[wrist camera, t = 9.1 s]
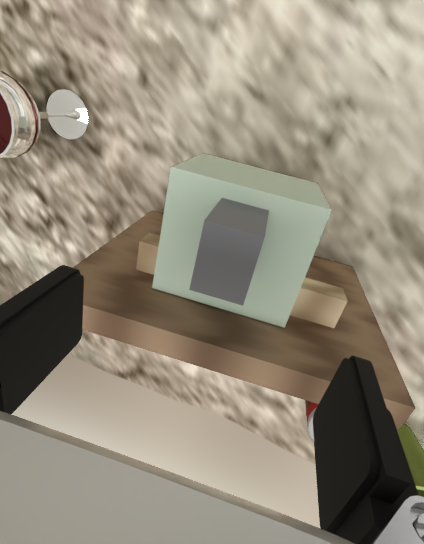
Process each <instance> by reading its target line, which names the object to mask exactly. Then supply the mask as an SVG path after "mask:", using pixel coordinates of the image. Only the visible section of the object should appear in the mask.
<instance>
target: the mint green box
mask: <svg viewBox="0 0 424 544" xmlns="http://www.w3.org/2000/svg"><path fill="white" fill-rule="evenodd" d="M331 211H332V209H331V207H330V205H329V204H328V202H327V200H326V198H325V196H324V194H323V192H322V190H321V188H320V187H319V185H318V183H315V182H311V181H307V180H303V179H300V178H296V177H292V176H288V175H284V174H281V173H277V172H273V171H269V170H265V169H262V168H258V167H254V166H250V165H246V164H242V163H239V162H235V161H231V160H227V159H223V158H220V157H216V156H212V155H208V154H204V153H203V154H200V155H198V156H195V157H193V158H191V159H188V160H186V161H184V162H181V163H179V164H177V165H174V166H172V167H171V169H170V176H169V182H168V189H167V195H166V201H165V208H164V214H163V221H162V227H161V234H160V240H159V247H158V253H157V259H156V266H155V272H154V279H153V285H152V288H154V289H157V290H160V291H164V292H167V293H170V294H174V295H177V296H180V297H184V298H187V299H190V300H194V301H197V302H200V303H204V304H207V305H210V306H214V307H217V308H220V309H224V310H227V311H230V312H234V313H237V314H240V315H244V316H247V317H250V318H254V319H257V320H260V321H264V322H267V323H270V324H274V325H277V326H280V327H284V328H285V326H286V323H287V321H288V318H289V316H290V313H291V311H292V308H293V306H294V303H295V301H296V298H297V296H298V293H299V291H300V288H301V286H302V283H303V281H304V278H305V276H306V273H307V271H308V268H309V266H310V263H311V261H312V258H313V256H314V253H315V251H316V248H317V246H318V244H319V241H320V239H321V236H322V234H323V231H324V229H325V226H326V224H327V221H328V219H329V216H330V214H331Z"/></svg>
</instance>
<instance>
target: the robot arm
mask: <svg viewBox="0 0 424 544" xmlns="http://www.w3.org/2000/svg"><path fill="white" fill-rule="evenodd" d="M83 292H84V277H83V275H81V274H80V271H79V270H78V269H75V268H71V267H68V266H65V265H62V266H60V267H58V268H57V269H55V270H54V271H52V272H51V273H49V274H48V275H46V276H44V277H43V278H41V279H40V280H38V281H37V282H35V283H34V284H32V285H31V286H29V287H28V288H26V289H25V290H23V291H22V292H20V293H19V294H17V295H15V296H14V297H12V298H11V299H9V300H8V301H6V302H5V303H3V304H2V305H0V544H424V497H422V496H419V494H418V491H417V488H416V485H415V482H414V479H413V476H412V473H411V470H410V467H409V464H408V461H407V458H406V455H405V452H404V449H403V446H402V444H401V441H400V438H399V435H398V432H397V429H396V426H395V423H394V420H393V417H392V414H391V412H390V411H389V410H388V409H387V408H386V405H385V401H384V398H383V395H382V392H381V389H380V386H379V383H378V380H377V377H376V374H375V371H374V368H373V365H372V362H371V361H369V360H366V359H363V358H360V357H357V356H351V357H350V358H349V359H348V358H344V359H343V360H342V362H341V364H340V366H339V368H338V369H337V371H336V373H335V375H334V377H333V379H332V380H331V382H330V384H329V386H328V388H327V390H326V391H325V393H324V395H323V397H322V399H321V401H320V402H319V404H318V406H317V408H316V410H315V412H314V416H313V432H314V446H315V461H316V474H317V488H318V503H319V517H320V527H321V529H320V528H317V527H314V526H312V525H309V524H307V523H304V522H302V521H299V520H297V519H294V518H292V517H289V516H286V515H284V514H281V513H279V512H276V511H274V510H271V509H268V508H266V507H263V506H260V505H258V504H255V503H252V502H250V501H247V500H244V499H241V498H239V497H236V496H233V495H231V494H228V493H225V492H223V491H220V490H217V489H214V488H212V487H209V486H206V485H204V484H201V483H198V482H196V481H193V480H190V479H188V478H185V477H182V476H179V475H177V474H174V473H171V472H169V471H166V470H163V469H160V468H158V467H155V466H152V465H150V464H147V463H144V462H141V461H139V460H136V459H133V458H130V457H128V456H125V455H122V454H119V453H116V452H114V451H111V450H108V449H106V448H103V447H100V446H97V445H95V444H92V443H89V442H86V441H83V440H81V439H78V438H75V437H72V436H70V435H67V434H64V433H61V432H58V431H56V430H53V429H50V428H47V427H45V426H42V425H39V424H36V423H33V422H31V421H28V420H25V419H22V418H19V417H17V416H14V415H11V414H12V413H13V412H14V411H15V410H16V409H17V408H18V407H19V406H20V405H21V403H22V402H23V401H24V400H25V399H26V398H27V397H28V396H29V395H30V394H31V393H32V392H33V391H34V390H35V389H36V387H37V386H38V385H39V384H40V383H41V382H42V381H43V380H44V379H45V378H46V376H48V374H50V372H51V371H52V370H53V369H54V368H55V367H56V366H57V365H58V364H59V363H60V362H61V361H62V360H63V359H64V357H65V356H66V355H67V354H68V353H69V352H70V351H71V350H72V349H73V348H74V347H75V346H76V345H77V344H78V342H79V341H80V339H81V336H82V323H83Z"/></svg>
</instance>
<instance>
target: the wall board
mask: <svg viewBox="0 0 424 544" xmlns="http://www.w3.org/2000/svg"><path fill="white" fill-rule="evenodd" d="M162 221H163V213H159V212H156V211H151V212H149V213H148V214H147V215H145V216H144V217H142V218H141V219H140V220H138V221H137V222H136V223H134V224H133V225H131V226H130V227H129V228H127V229H126V230H124V231H123V232H122V233H120V234H119V235H118V236H116V237H115V238H113V239H112V240H111V241H109V242H108V243H106V244H105V245H104V246H102V247H101V248H100V249H98V250H97V251H95V252H94V253H93V254H91V255H90V256H88V257H87V258H86V259H84V260H83V261H82V262H80V263H79V264H77V265H76V266H75V267H73V268H75V269H78V270H79V271H80V274H81V275H83V277H84V292H83V323H82V329H83V330H86V331H89V332H93V333H96V334H99V335H102V336H105V337H108V338H111V339H115V340H118V341H121V342H124V343H127V344H130V345H134V346H137V347H140V348H143V349H146V350H149V351H152V352H156V353H159V354H162V355H165V356H168V357H171V358H175V359H178V360H181V361H184V362H187V363H190V364H193V365H197V366H200V367H203V368H206V369H209V370H212V371H216V372H219V373H222V374H225V375H228V376H231V377H234V378H238V379H241V380H244V381H247V382H250V383H253V384H257V385H260V386H263V387H266V388H269V389H272V390H275V391H279V392H282V393H285V394H288V395H291V396H294V397H297V398H301V399H304V400H307V401H310V402H313V403H316V404H319V402H320V401H321V399H322V397H323V395H324V393H325V391H326V390H327V388H328V386H329V384H330V382H331V380H332V379H333V377H334V375H335V373H336V371H337V369H338V368H339V366H340V364H341V362H342V360H343V359H344V358H348V359H349V358H350V357H351V356H357V357H360V358H363V359H366V360H369V361H371V362H372V365H373V368H374V371H375V374H376V377H377V380H378V383H379V386H380V389H381V392H382V395H383V398H384V401H385V405H386V408H387V409H388V410H389V411H390V412H391V414H392V417H393V420H394V423H395V426H396V429H398V430H399V429H400V428H401V426H402V425H403V424H404V422H405V421H406V420H407V418H408V417H409V416H410V414H411V413H412V412H413V410H414V409H415V406H414V404H413V402H412V399H411V397H410V395H409V393H408V390H407V388H406V386H405V384H404V381H403V379H402V377H401V375H400V372H399V370H398V368H397V366H396V363H395V361H394V359H393V357H392V354H391V352H390V350H389V348H388V345H387V343H386V341H385V339H384V336H383V334H382V332H381V330H380V327H379V325H378V323H377V321H376V318H375V316H374V314H373V312H372V309H371V307H370V305H369V303H368V300H367V298H366V296H365V294H364V291H363V289H362V287H361V285H360V282H359V280H358V278H357V275H356V273H355V271H354V269H353V267H352V266H348V265H345V264H341V263H337V262H334V261H330V260H327V259H323V258H320V257H316V256H313V258H312V261H311V263H310V266H309V268H308V271H307V273H306V276H305V278H304V281H303V283H302V286H301V288H300V291H299V293H298V296H297V298H296V301H295V303H294V306H293V308H292V311H291V313H290V316H289V318H288V321H287V323H286V326H285V328H284V327H280V326H277V325H274V324H270V323H267V322H264V321H260V320H257V319H254V318H250V317H247V316H244V315H240V314H237V313H234V312H230V311H227V310H224V309H220V308H217V307H214V306H210V305H207V304H204V303H200V302H197V301H194V300H190V299H187V298H184V297H180V296H177V295H174V294H170V293H167V292H164V291H160V290H157V289H154V288H152V285H153V279H154V272H155V266H156V259H157V253H158V247H159V240H160V234H161V227H162Z"/></svg>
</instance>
